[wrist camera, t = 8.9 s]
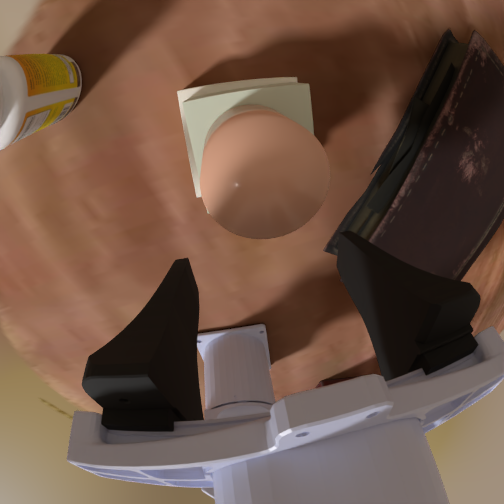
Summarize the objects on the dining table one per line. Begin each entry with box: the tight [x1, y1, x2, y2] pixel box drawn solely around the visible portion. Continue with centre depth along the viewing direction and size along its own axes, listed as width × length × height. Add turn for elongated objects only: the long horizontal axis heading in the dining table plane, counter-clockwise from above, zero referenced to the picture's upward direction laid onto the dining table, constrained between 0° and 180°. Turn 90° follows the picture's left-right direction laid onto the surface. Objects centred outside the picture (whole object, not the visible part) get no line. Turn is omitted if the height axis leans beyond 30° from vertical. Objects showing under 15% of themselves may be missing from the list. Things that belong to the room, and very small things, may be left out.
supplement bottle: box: [0, 54, 82, 150], centre depth 10 cm, size 6×6×10 cm
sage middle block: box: [182, 82, 314, 213], centre depth 15 cm, size 6×6×4 cm
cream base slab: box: [177, 77, 297, 197], centre depth 18 cm, size 7×7×4 cm
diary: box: [323, 29, 504, 282], centre depth 21 cm, size 19×25×5 cm
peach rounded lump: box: [200, 104, 330, 239], centre depth 11 cm, size 5×5×4 cm
